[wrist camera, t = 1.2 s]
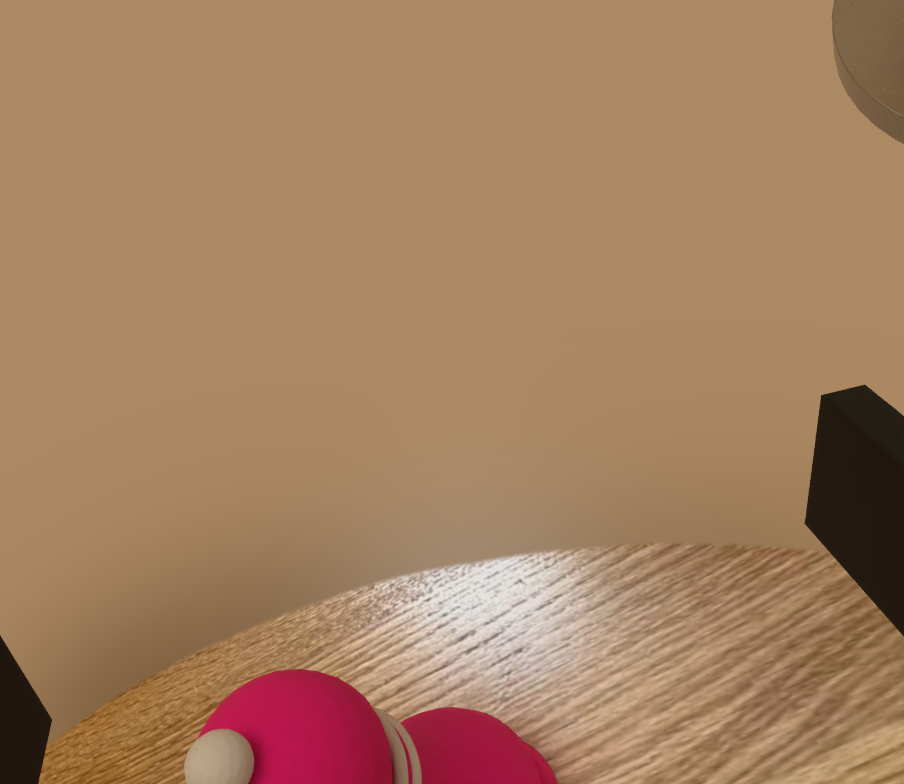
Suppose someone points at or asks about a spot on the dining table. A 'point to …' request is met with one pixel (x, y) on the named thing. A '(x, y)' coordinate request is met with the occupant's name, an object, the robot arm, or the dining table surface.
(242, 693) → the pepper mill
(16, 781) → the robot arm
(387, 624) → the dining table surface
